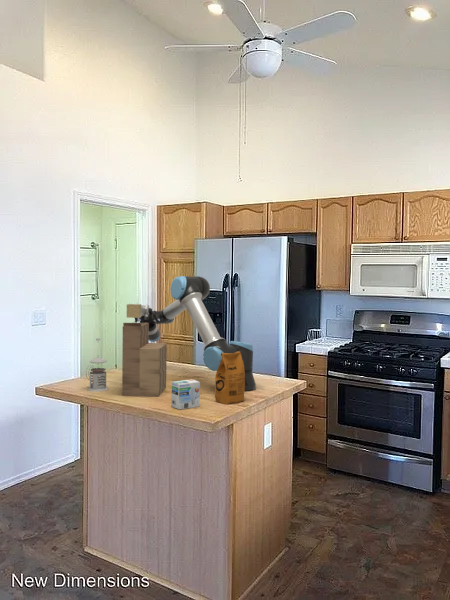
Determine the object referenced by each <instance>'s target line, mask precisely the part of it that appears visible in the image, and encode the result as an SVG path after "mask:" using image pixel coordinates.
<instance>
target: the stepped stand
mask: <svg viewBox="0 0 450 600" xmlns="http://www.w3.org/2000/svg"><path fill="white" fill-rule="evenodd" d="M122 324H123V325H122V355H121V357H122V361H121V363H122V364H121V365H122V367H121V368H122V372H121V373H122V379H121V383H122V385H121V390H122V391H121V396H122V397H149V398H151V397H152V398H153V397H154V398H159V397H160V396H161V395H162V393H164V391H165V390H166V388H167V353H168V352H167V350H168V349H167V346H168V345H167V344H168V343H166V342H165V343H164V342H163V343H162V342H161V343H160V342H150V341H149V323H140V322H123V323H122Z"/></svg>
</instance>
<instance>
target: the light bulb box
mask: <svg viewBox="0 0 450 600" xmlns="http://www.w3.org/2000/svg"><path fill="white" fill-rule="evenodd" d="M200 395H201V382H200V381H198V380H195V379H192V378H191V379H184V380H177V381H171V408H174V409H177V410H185V409H192V408H193V409H194V408H198V407H200V403H201V402H200V400H201V398H200V397H201V396H200Z"/></svg>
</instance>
